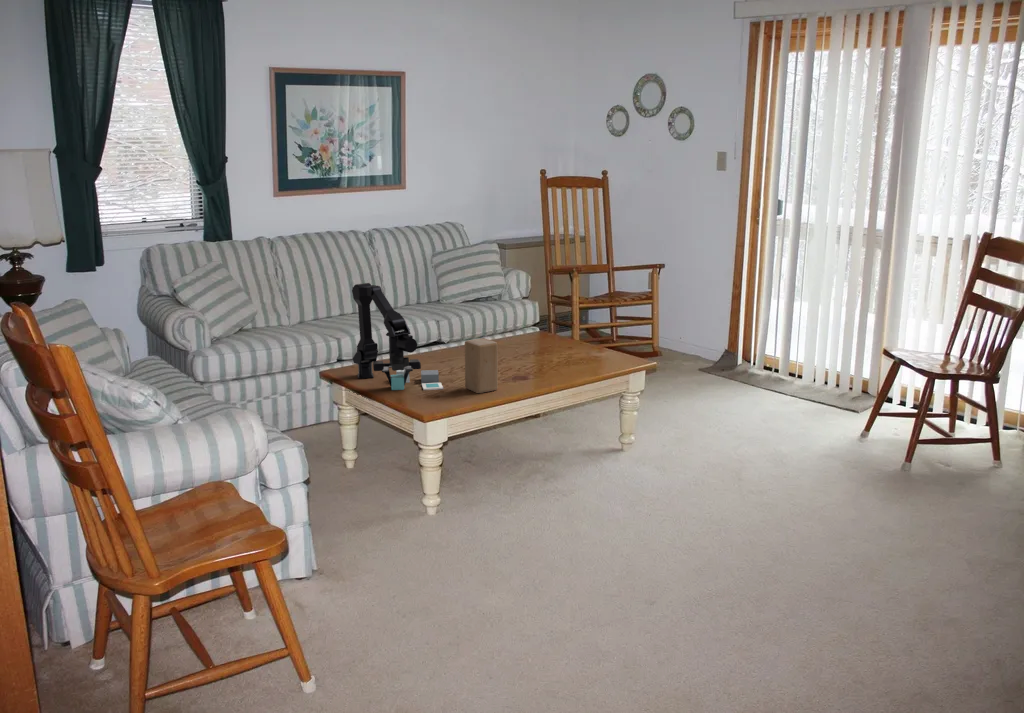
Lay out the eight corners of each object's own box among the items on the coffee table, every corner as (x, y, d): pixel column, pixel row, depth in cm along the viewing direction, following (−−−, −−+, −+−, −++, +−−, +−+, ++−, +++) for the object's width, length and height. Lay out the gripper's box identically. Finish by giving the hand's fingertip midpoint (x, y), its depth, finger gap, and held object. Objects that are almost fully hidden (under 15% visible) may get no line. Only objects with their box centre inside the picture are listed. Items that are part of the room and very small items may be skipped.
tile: (421, 384, 369) (421, 383, 368) (441, 383, 370) (441, 382, 370) (423, 390, 361) (423, 388, 361) (443, 389, 363) (443, 387, 362)
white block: (396, 380, 376) (396, 368, 375) (408, 379, 377) (408, 367, 376) (397, 383, 371) (397, 371, 370) (409, 382, 372) (409, 371, 371)
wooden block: (478, 394, 356) (477, 345, 351) (464, 388, 364) (463, 340, 359) (498, 390, 362) (498, 341, 357) (484, 384, 369) (484, 337, 364)
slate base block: (421, 379, 377) (421, 370, 376) (438, 379, 378) (437, 370, 377) (421, 384, 370) (421, 374, 369) (438, 383, 371) (438, 374, 370)
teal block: (390, 386, 366) (390, 374, 365) (403, 386, 367) (402, 374, 366) (391, 390, 361) (391, 378, 360) (404, 389, 362) (403, 377, 361)
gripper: (373, 354, 350) (375, 392, 354) (421, 351, 354) (422, 390, 358) (372, 347, 361) (373, 384, 365) (419, 345, 365) (419, 382, 368)
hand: (397, 385), depth 364 cm, fingers closed on teal block, 5 cm apart
